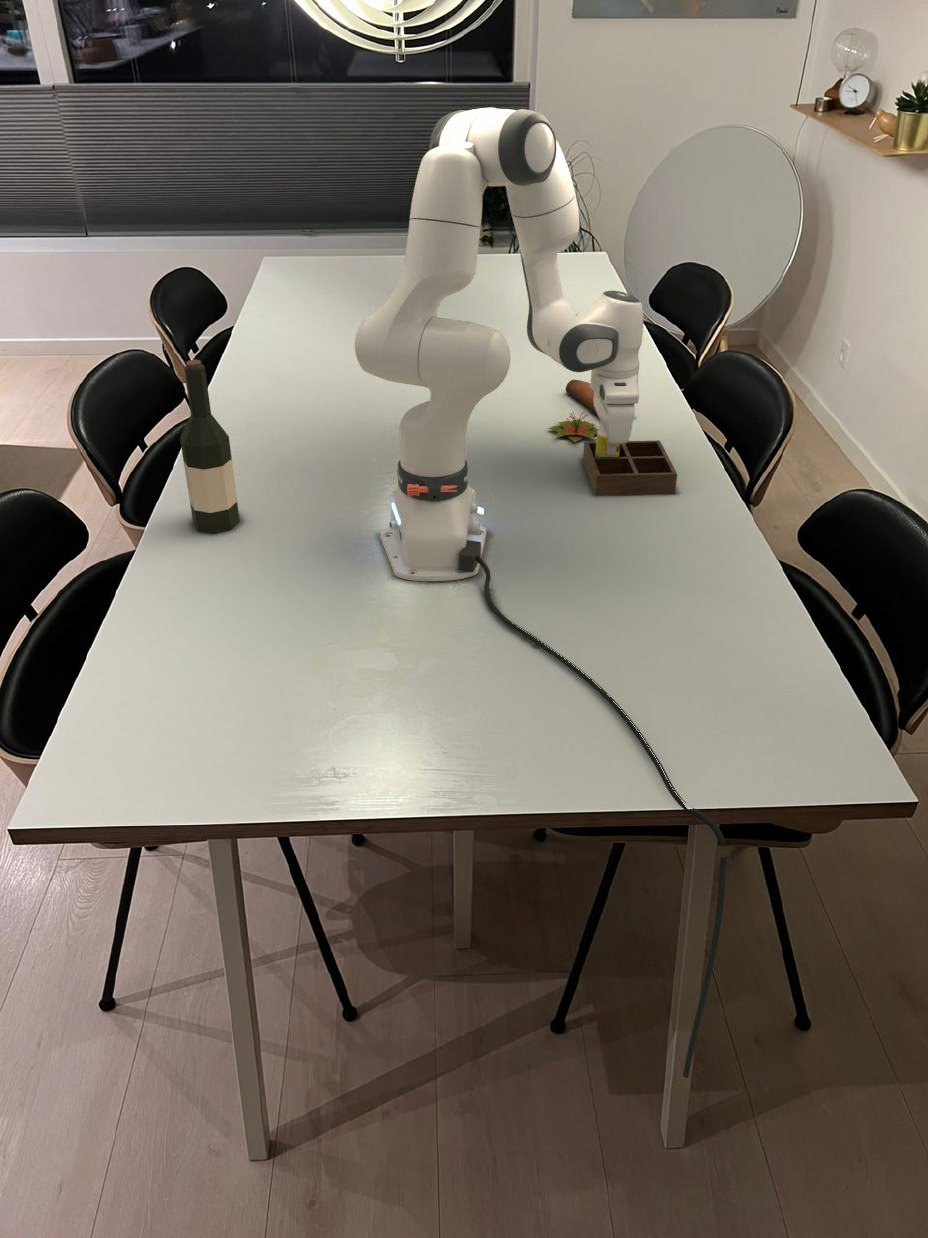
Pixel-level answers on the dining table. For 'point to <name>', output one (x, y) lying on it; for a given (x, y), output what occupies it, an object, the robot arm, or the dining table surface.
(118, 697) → the dining table surface
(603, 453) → the supplement bottle
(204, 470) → the wine bottle
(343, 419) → the dining table surface
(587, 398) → the sunglasses case
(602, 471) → the wooden compartment tray
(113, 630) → the dining table surface
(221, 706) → the dining table surface
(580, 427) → the lily flower
